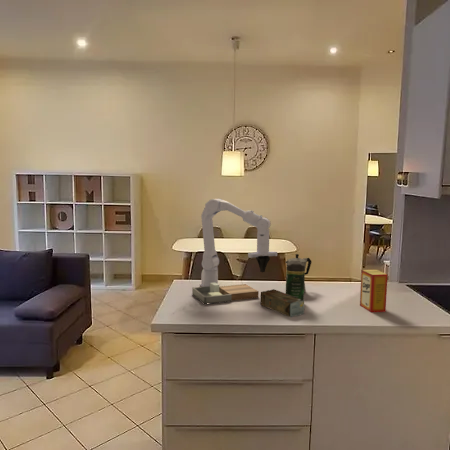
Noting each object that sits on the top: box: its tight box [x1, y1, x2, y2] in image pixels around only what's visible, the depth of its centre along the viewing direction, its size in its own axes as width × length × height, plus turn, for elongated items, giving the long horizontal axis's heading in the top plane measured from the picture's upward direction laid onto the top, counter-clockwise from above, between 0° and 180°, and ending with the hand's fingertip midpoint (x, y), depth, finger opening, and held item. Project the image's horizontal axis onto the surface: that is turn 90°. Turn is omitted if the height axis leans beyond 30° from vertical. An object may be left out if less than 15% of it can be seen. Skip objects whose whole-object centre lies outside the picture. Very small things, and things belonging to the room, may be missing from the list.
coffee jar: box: [285, 260, 306, 301], centre depth 182 cm, size 10×8×19 cm
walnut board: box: [219, 283, 259, 302], centre depth 195 cm, size 14×14×3 cm
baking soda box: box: [359, 269, 388, 313], centre depth 176 cm, size 10×6×16 cm
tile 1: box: [210, 282, 220, 293], centre depth 193 cm, size 5×5×2 cm
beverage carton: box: [260, 288, 305, 318], centre depth 174 cm, size 8×19×7 cm, turn 34°
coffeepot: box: [285, 253, 312, 293], centre depth 204 cm, size 15×9×18 cm, turn 118°
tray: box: [191, 286, 232, 305], centre depth 190 cm, size 17×12×3 cm
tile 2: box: [208, 292, 222, 296], centre depth 185 cm, size 5×5×2 cm
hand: (262, 271), depth 199 cm, fingers closed
